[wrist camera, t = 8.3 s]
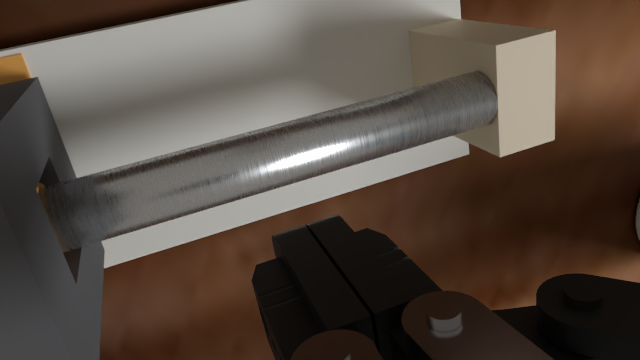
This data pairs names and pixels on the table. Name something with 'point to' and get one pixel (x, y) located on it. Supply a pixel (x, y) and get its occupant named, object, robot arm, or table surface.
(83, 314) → the grey sliding block
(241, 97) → the pipe stand
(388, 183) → the table surface
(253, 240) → the table surface
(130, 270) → the table surface
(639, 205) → the blue canister
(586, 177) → the table surface
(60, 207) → the metal pipe
